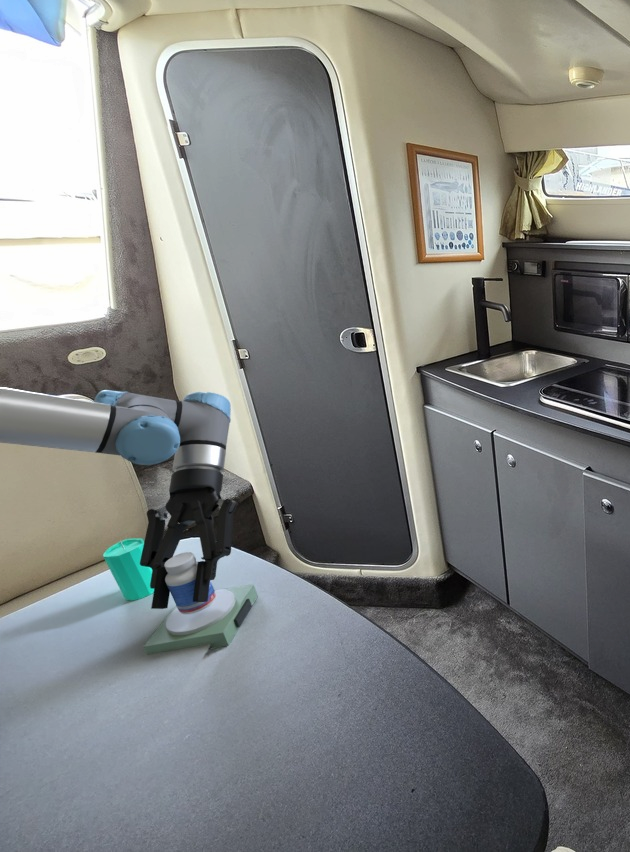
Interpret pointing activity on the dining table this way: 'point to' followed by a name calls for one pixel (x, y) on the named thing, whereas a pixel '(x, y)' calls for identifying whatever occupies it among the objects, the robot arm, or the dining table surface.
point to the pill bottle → (185, 583)
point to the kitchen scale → (205, 622)
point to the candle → (129, 568)
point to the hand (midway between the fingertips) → (180, 604)
